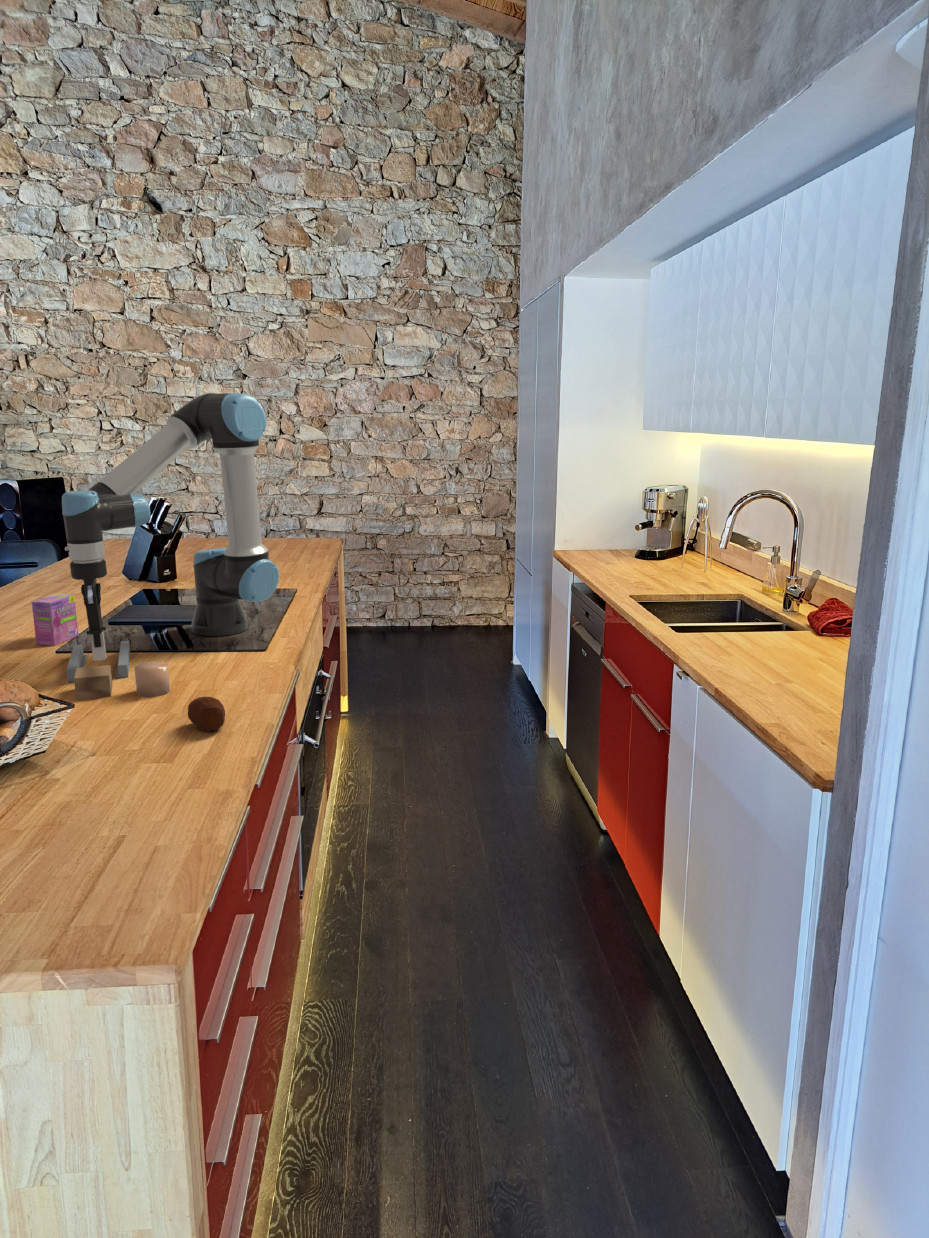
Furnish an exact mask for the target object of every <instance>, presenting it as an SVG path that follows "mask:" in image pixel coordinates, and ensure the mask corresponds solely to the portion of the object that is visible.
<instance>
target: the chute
mask: <svg viewBox="0 0 929 1238" xmlns="http://www.w3.org/2000/svg"><path fill="white" fill-rule="evenodd" d="M87 655H88V654H85V653H84V645H83V644H82V643H81V644H73V647H72V651H71V654H70V658H69V660H68V664H67V667H66V679H67V683H68V684H69V683H74V676H75V673H76V669H77V668H82V667H85V664H86V661H87V660H86V659H87ZM130 661H131V647H130V640H122V641H121V640H120V646H119V651H118V657H117V665H116V672H115V673H116V674H115V679H123V678H124V679H125V678H129V673H130Z"/></svg>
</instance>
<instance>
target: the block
mask: <svg viewBox="0 0 929 1238" xmlns="http://www.w3.org/2000/svg"><path fill="white" fill-rule="evenodd" d="M112 677H113V676H112V668H111V665H110V664H109V665H108V664H107V665H106V664H105V665H97V666H96V665H94V666H84V667H82V668H77V669H76V673H75V676H74V682H73V683H74V684H73V685H74V690H75V700H76V701H77V700H78V701H79V700H85V699H87V700H89V699H97V698H107V697H108V698H109V697H112V692H113V678H112Z"/></svg>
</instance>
